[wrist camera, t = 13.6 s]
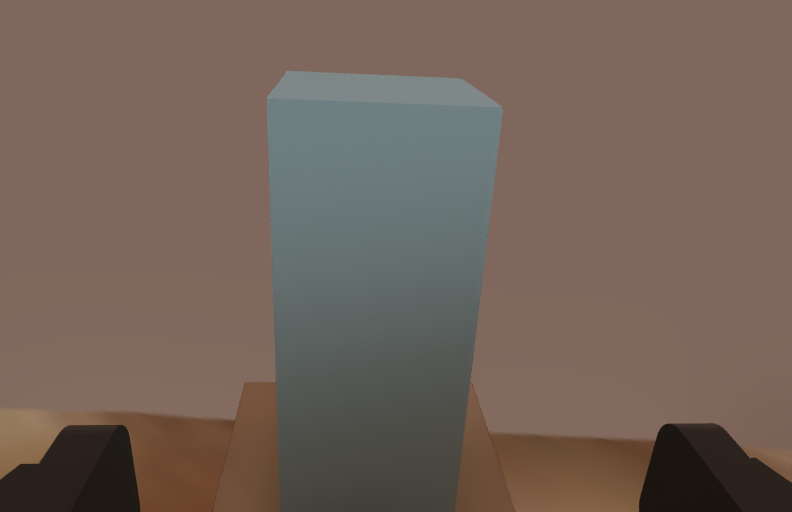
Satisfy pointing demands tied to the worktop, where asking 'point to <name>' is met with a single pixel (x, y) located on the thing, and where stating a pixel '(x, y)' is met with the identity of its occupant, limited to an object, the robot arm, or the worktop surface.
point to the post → (376, 283)
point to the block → (259, 467)
